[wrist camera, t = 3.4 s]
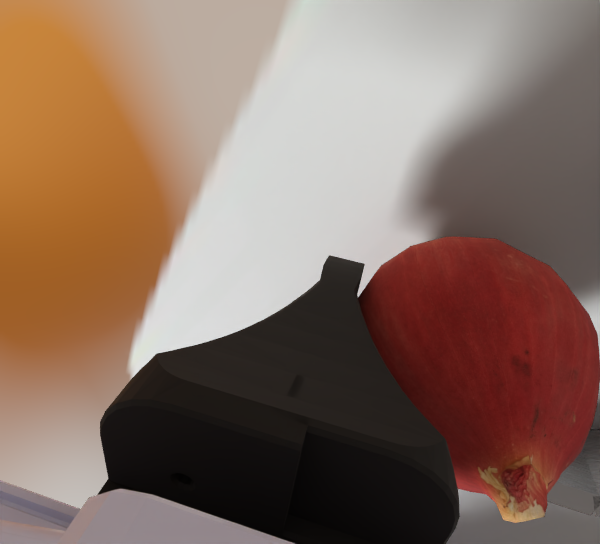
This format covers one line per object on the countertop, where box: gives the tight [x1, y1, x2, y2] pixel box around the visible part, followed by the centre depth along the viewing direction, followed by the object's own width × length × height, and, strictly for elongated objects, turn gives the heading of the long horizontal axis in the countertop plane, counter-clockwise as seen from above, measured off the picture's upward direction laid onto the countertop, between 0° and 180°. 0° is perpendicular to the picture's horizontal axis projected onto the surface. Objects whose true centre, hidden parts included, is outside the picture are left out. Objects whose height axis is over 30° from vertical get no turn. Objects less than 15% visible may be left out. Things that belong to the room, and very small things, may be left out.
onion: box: [358, 237, 600, 523], centre depth 11 cm, size 6×6×8 cm
